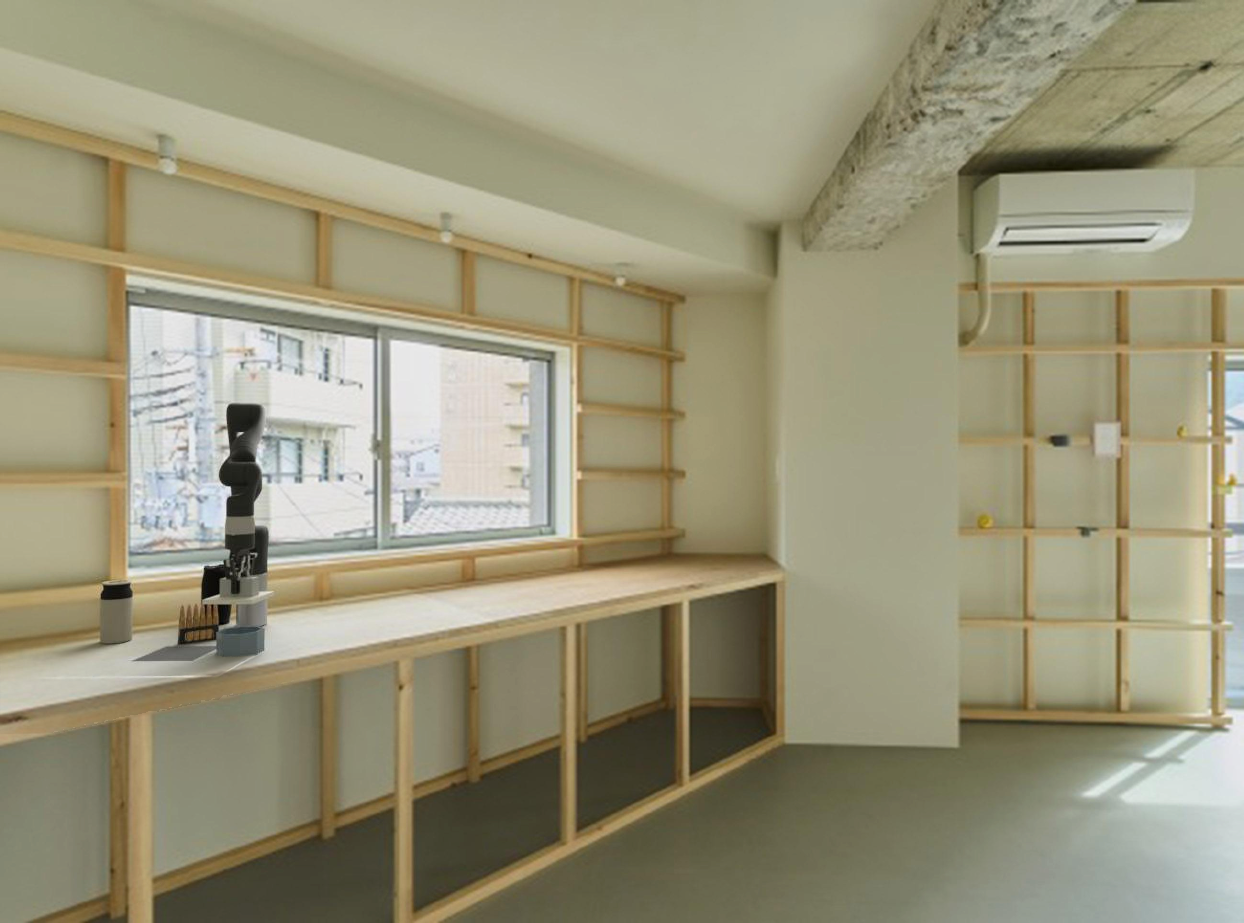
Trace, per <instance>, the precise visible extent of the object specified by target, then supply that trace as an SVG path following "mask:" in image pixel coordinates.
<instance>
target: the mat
mask: <svg viewBox="0 0 1244 923" xmlns="http://www.w3.org/2000/svg"><path fill="white" fill-rule="evenodd" d="M213 651H216V645H208V646H207V645H202V646H201V645H198V646H197V645H193V646H191V645H188V646H187V645H182V646H181V645H178V646H177V645H176V646H175V645H174V646H173V645H172V646H169V645H168V646H167V645H166V646H164V647H161V648H159V649H157V650H155V651H152V652H149V653H147V654H145V655H142V656H140V657H137V658H135V659H133V660H132V662H182V661H183V662H188V661H189V662H191V661H194V660H196V659H200V658H201V657H203V656H205V655H207V654H209V653H211V652H213Z"/></svg>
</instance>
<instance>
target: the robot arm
mask: <svg viewBox="0 0 1244 923" xmlns="http://www.w3.org/2000/svg"><path fill="white" fill-rule="evenodd" d="M225 415H226V416H225V417H226V428H227V436H228V448H229V455H228V457H227V458H226V459H225V460H224V461H223V463H222V464H221V466H220V468H219V471H218V478H219V479H218V480H219V481H220V483H221V485H223V486H225V487H230V496H228V497H227V498H226V502H225V504H226V505H225V507H226V508H225V510H226V511H225V513H226V514H225V523H224V549H225V550H229V557H228V558H227V559H223V560H222V561H223V563H222V564H224V569H225V575H226V579H229V580H230V581H231V594H239V593H240V581H239V580H240V577H259V592H265V591H268V554H269V552H268V551H269V537H270V536H269V534H270V533H269V532H270V531H269V528H268V527H267V526H266V525H264V524H263V525H262V524H261V525H256V524H255V516H254V515H255V502H256V500H257V499H258V498H259V496H260V495H261V493H262V490H263V472H262V470H263V469H262V468H261V466H260V464H259V463H258V462H257V453H258V448H259V444H260V442H261V439H262V437H263V434H264V431H265V428H266V423H267V413H266V409H265V407H264V405H263V404H260V403H248V402H247V403H246V402H244V403H242V402H241V403H240V402H234V403H232V402H231V403H229V404H228V405H227V407H226V414H225ZM240 433H241V434H240ZM229 572H230V574H229ZM235 608H236V609H235V611H236V614H235V618H236V619H235V627H239V626H260V627H262V626H266V625H267V624H268V598H267V599H264V600H262V601H259V602H256V603H254V604H235Z"/></svg>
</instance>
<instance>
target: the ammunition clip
mask: <svg viewBox="0 0 1244 923" xmlns="http://www.w3.org/2000/svg"><path fill="white" fill-rule="evenodd" d="M185 611H186V612H185ZM185 613H186V614H185ZM219 626H220V625H219V623H218V607H217V604H214V606H213V615H212V614H211V605H210V604H208V605H207V614H206V617H205V607H204V604H201V603H200V611H199V607H198V603H195V605H194V607H193V616H192V607H191V604H188V606H187V609H186V610H185V607H184V605H183V604H181V607H180V610H179V619H178V631H177V632H178V634H177V636H178V637H177V644H178V646H181V645H182V646H184V645H189V644H194V643H196V644H197V643H204V642H210V641H216V632H218V631H220V627H219Z"/></svg>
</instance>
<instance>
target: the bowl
mask: <svg viewBox="0 0 1244 923" xmlns="http://www.w3.org/2000/svg"><path fill="white" fill-rule="evenodd" d="M215 641H216V642H215V646H216V650H215V652H216V653H215V654H217V655H219V656H220V657H242V656H248V655H249V656H250V655H253V654H254V656H257V655H259V654H261V653H262V651H263V652H264V651H265V627H262V626H239V627H237V626H233V627H225V628H223V629H219V631H218V632H216V640H215ZM260 652H261V653H260ZM258 653H259V654H258Z"/></svg>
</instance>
